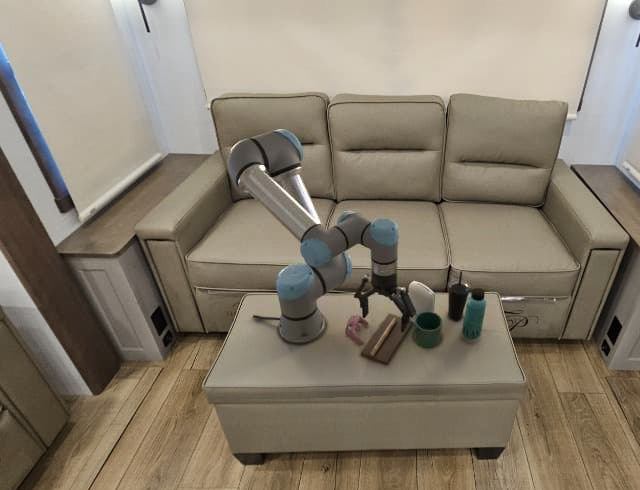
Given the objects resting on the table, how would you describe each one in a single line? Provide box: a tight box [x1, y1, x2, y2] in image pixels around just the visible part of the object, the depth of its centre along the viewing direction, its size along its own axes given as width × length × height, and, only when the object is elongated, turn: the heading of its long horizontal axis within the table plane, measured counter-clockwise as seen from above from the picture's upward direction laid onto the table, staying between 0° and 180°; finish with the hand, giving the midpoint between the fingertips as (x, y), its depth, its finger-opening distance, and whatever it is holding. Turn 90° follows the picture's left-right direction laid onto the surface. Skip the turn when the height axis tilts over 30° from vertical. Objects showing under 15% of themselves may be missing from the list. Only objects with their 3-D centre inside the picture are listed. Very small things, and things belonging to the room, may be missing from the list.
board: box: [360, 313, 413, 365], centre depth 142 cm, size 9×20×1 cm, turn 155°
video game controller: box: [344, 313, 369, 345], centre depth 142 cm, size 10×5×7 cm, turn 168°
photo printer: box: [408, 280, 436, 316], centre depth 149 cm, size 10×4×12 cm, turn 46°
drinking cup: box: [447, 270, 472, 321], centre depth 145 cm, size 8×8×20 cm
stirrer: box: [370, 318, 397, 357], centre depth 140 cm, size 1×13×13 cm
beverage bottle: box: [461, 287, 487, 341], centre depth 138 cm, size 6×7×20 cm
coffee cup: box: [413, 311, 443, 348], centre depth 140 cm, size 9×9×8 cm
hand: (384, 322), depth 134 cm, fingers open, 13 cm apart
